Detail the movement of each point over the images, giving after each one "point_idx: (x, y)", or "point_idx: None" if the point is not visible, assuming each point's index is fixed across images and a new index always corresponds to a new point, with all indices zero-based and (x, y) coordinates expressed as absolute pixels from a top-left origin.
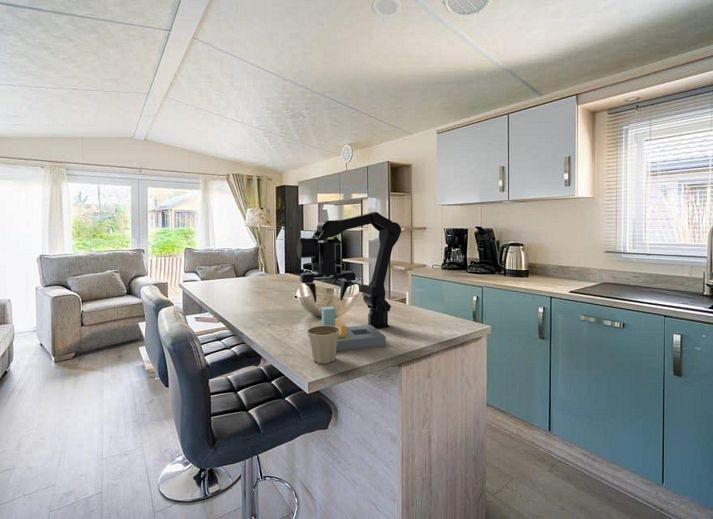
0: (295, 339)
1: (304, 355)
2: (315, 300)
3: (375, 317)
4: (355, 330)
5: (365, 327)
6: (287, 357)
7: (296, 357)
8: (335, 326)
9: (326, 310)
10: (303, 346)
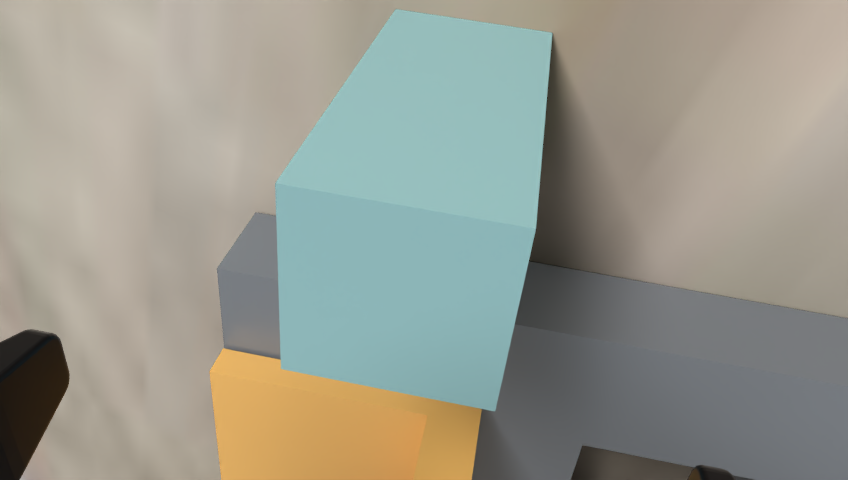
0: (65, 142)
1: (146, 468)
2: (28, 425)
3: None
4: (646, 453)
5: (808, 452)
6: (42, 447)
7: (97, 470)
8: (424, 432)
9: (335, 362)
10: (142, 338)
